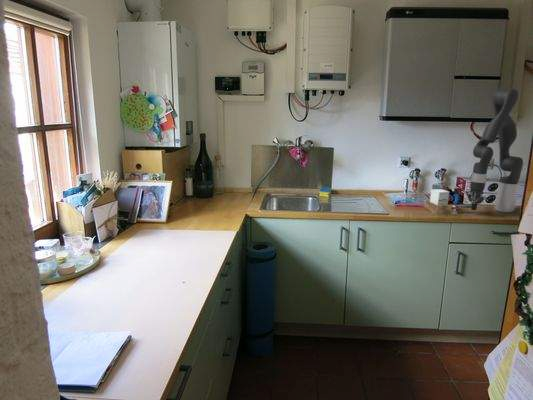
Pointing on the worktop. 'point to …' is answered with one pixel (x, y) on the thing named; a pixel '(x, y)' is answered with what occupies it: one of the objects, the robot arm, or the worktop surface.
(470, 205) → the latch bar
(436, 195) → the supplement box
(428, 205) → the keeper
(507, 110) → the robot arm
